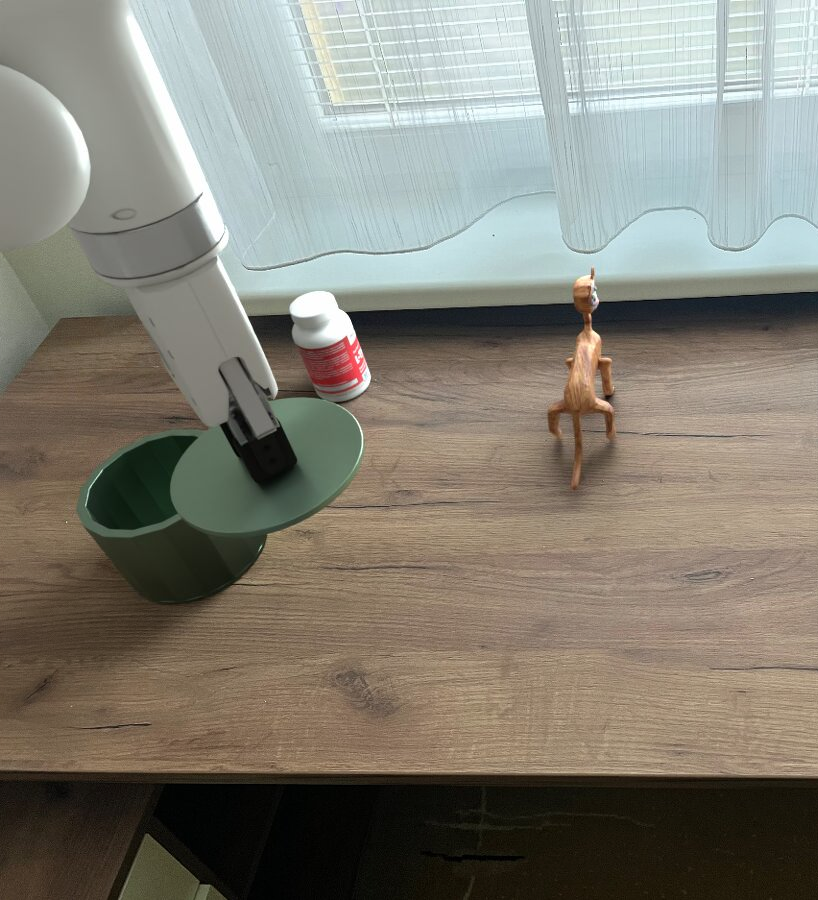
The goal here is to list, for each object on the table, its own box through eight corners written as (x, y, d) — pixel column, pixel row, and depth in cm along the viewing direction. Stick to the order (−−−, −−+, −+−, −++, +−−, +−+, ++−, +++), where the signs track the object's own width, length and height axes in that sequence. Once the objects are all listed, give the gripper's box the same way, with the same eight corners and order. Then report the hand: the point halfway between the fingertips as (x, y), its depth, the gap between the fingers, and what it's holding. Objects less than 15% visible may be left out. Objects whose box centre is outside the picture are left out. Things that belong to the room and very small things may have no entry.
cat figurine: (610, 499, 81) (595, 388, 71) (540, 498, 82) (516, 387, 72) (628, 374, 94) (617, 264, 84) (567, 374, 94) (550, 266, 85)
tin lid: (215, 577, 56) (174, 513, 52) (152, 468, 65) (112, 405, 60) (400, 474, 62) (376, 408, 57) (320, 385, 70) (294, 322, 66)
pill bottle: (378, 391, 96) (348, 308, 88) (324, 411, 94) (288, 329, 86) (363, 361, 100) (333, 279, 92) (311, 380, 98) (275, 299, 91)
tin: (155, 630, 76) (99, 562, 69) (114, 546, 83) (61, 477, 76) (288, 552, 80) (249, 481, 74) (238, 479, 88) (198, 409, 81)
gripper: (50, 205, 53) (179, 428, 66) (126, 316, 43) (260, 552, 56) (172, 162, 56) (272, 383, 69) (268, 256, 46) (365, 494, 59)
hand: (266, 457), depth 62 cm, fingers closed on tin lid, 2 cm apart
